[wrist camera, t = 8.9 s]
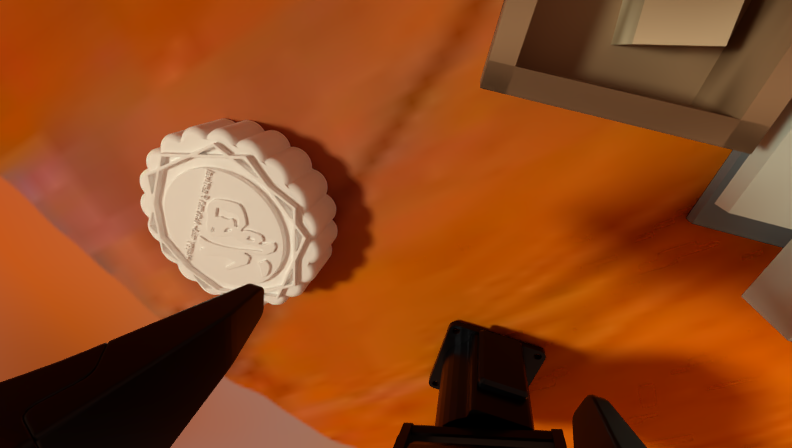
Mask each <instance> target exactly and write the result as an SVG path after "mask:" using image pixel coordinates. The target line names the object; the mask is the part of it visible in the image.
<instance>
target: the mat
mask: <svg viewBox="0 0 792 448" xmlns="http://www.w3.org/2000/svg"><path fill="white" fill-rule="evenodd" d="M749 155H750V154H748V153H744V152H740V151H736V150H733V151H732V152H731V154H730V155H729V157H728V158H727V159H726V161H725V162H724V164H723V165H722V167H721V168H720V170H719V171H718V172H717V174H716V175H715V177H714V178H713V180H712V181H711V183H710V184H709V186H708V187H707V188H706V190H705V191H704V193H703V194H702V196H701V197H700V199H699V200H698V202H697V203H696V204H695V206H694V207H693V209H692V210H691V212H690V213H689V215H688V216H687V218H686V219H687V220H688V221H690V222H691V223H692V224H696V225H700V226H703V227H707V228H711V229H715V230H718V231H722V232H726V233H730V234H733V235H737V236H741V237H745V238H748V239H752V240H756V241H760V242H763V243H767V244H771V245H775V246H778V247H782V248H784V247H785V246H786V245H787V244H788V243H789V241H790V240H791V239H792V229H788V228H784V227H781V226H777V225H773V224H769V223H765V222H762V221H758V220H754V219H750V218H746V217H743V216H739V215H735V214H731V213H728V212H726V211H725V210H723V209H722V208H720V207H719V206H717V205H716V204H714V203H715V202H716V201H717V199H718V198H719V197H720V195H721V194H722V192H723V191H724V190H725V188H726V187H727V185H728V184H729V183H730V181H731V180H732V178H733V177H734V176H735V174H736V173H737V171H738V170H739V169H740V167H741V166H742V165H743V163H744V162H745V160H746V159H747V158H748V156H749Z"/></svg>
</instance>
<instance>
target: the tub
mask: <svg viewBox="0 0 792 448" xmlns="http://www.w3.org/2000/svg"><path fill="white" fill-rule="evenodd" d="M622 1H623V0H504V3H503V6H502V10H501V13H500V16H499V20H498V23H497V26H496V30H495V33H494V36H493V40H492V43H491V46H490V50H489V53H488V56H487V60H486V63H485V66H484V70H483V73H482V76H481V80H480V88H483V89H487V90H491V91H495V92H499V93H503V94H507V95H511V96H515V97H519V98H523V99H528V100H532V101H536V102H540V103H544V104H548V105H552V106H556V107H560V108H564V109H568V110H573V111H577V112H581V113H585V114H589V115H593V116H597V117H601V118H605V119H609V120H613V121H617V122H622V123H626V124H630V125H634V126H638V127H642V128H646V129H650V130H654V131H658V132H662V133H666V134H671V135H675V136H679V137H683V138H687V139H691V140H695V141H699V142H703V143H707V144H711V145H716V146H720V147H724V148H728V149H732V150H736V151H740V152H744V153H748V154H752V153H753V151H754V150H755V148H756V147H757V146H758V144H759V143H760V141H761V140H762V139H763V137H764V136H765V134H766V133H767V132H768V130H769V129H770V128H771V126H772V125H773V123H774V122H775V121H776V119H777V118H778V116H779V115H780V114H781V112H782V111H783V109H784V108H785V107H786V105H787V104H788V102H789V101H790V100H791V98H792V0H744V3H743V5H742V8H741V10H740V13H739V15H738V18H737V20H736V23H735V25H734V28H733V30H732V33H731V35H730V38H729V40H728V43H727V45H726V46H709V47H680V46H638V45H611V42H612V38H613V35H614V31H615V27H616V23H617V20H618V16H619V12H620V9H621V5H622Z"/></svg>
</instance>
